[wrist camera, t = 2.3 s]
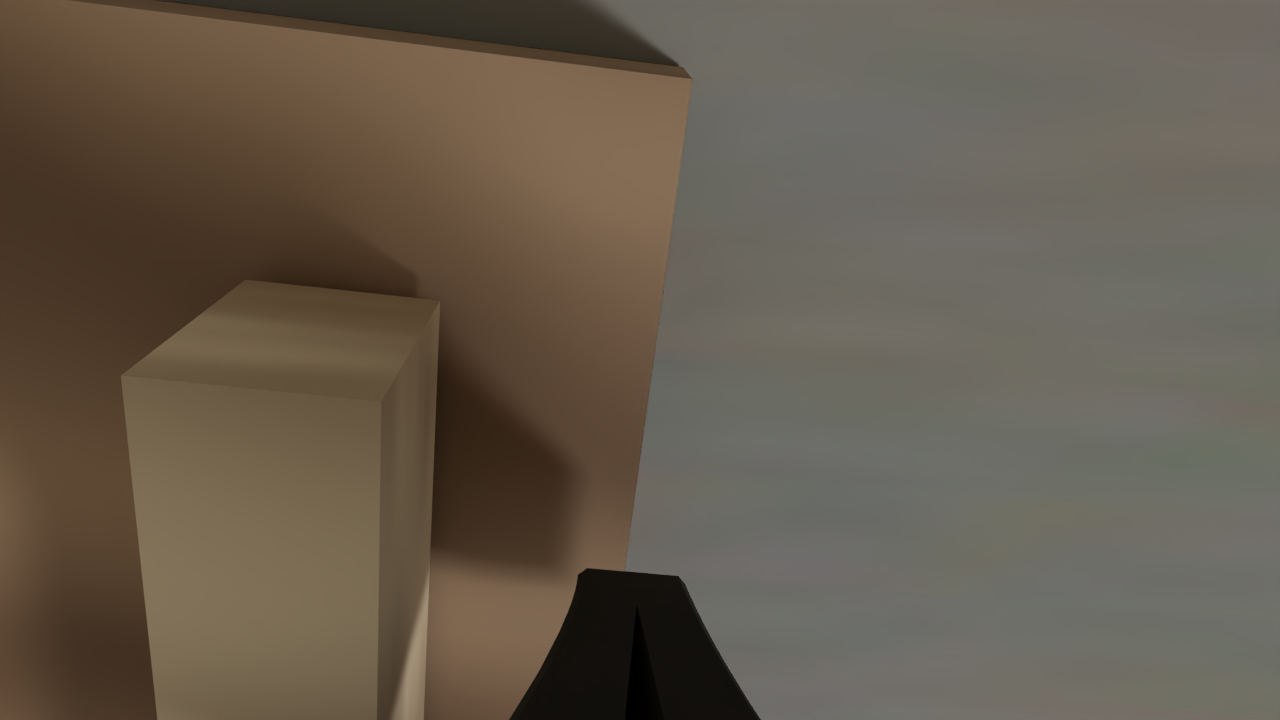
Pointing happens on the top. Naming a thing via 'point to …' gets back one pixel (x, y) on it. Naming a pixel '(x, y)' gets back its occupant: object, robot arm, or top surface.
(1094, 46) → the top surface
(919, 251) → the top surface
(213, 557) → the folding leg
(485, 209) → the stool seat
